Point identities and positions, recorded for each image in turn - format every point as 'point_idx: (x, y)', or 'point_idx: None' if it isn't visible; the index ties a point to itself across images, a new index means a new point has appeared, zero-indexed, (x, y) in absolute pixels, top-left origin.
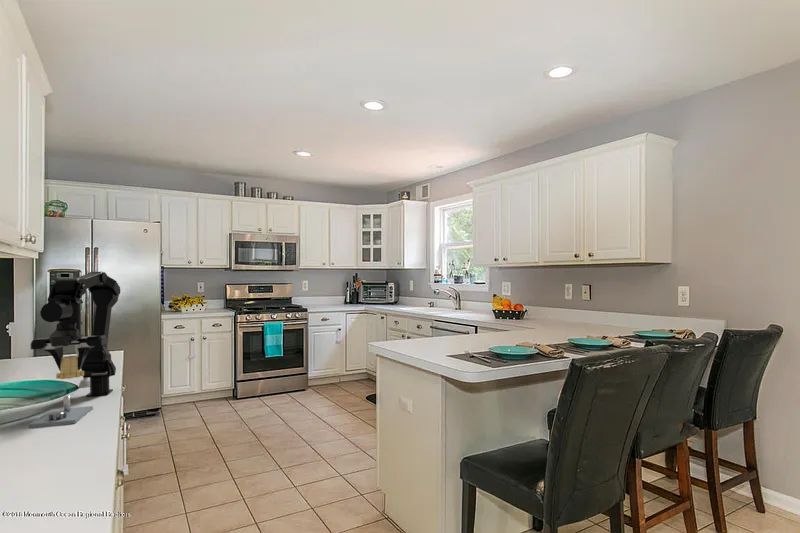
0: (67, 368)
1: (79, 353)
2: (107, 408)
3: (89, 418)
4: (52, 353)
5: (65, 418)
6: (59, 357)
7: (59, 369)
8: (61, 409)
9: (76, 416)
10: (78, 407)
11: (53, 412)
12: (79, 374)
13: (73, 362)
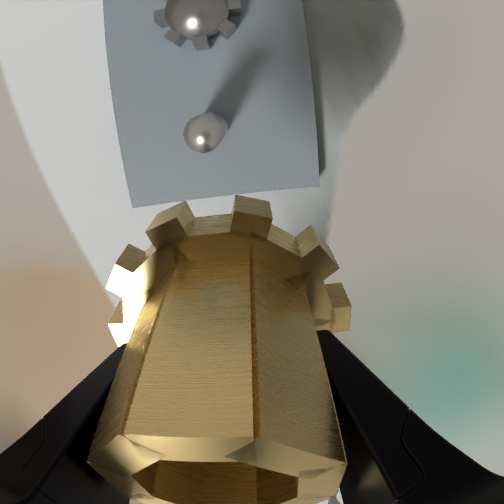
0: (203, 302)
1: (24, 487)
2: (80, 203)
3: (81, 57)
4: (491, 493)
5: (158, 6)
6: (364, 472)
7: (329, 334)
8: (266, 174)
9: (119, 34)
10: (192, 194)
11: (226, 18)
12: (112, 276)
13: (125, 380)
